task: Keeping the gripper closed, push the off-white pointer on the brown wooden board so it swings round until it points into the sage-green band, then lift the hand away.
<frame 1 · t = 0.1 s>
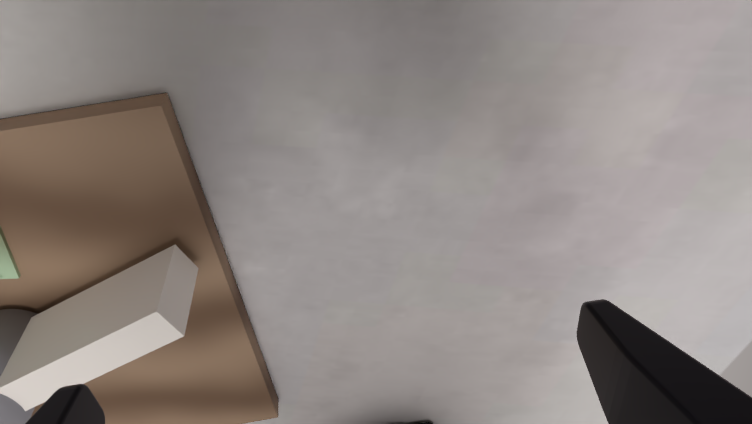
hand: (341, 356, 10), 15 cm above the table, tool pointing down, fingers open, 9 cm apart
pointer: (70, 340, 24), point 4 cm above the table, hinge at -70.0°
brown wooden board: (32, 313, 27), on the table
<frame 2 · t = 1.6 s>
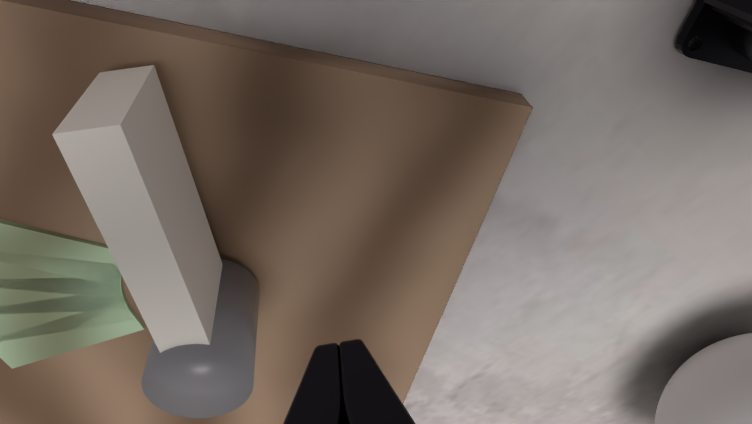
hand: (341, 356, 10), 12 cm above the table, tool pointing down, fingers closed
pointer: (174, 255, 18), point 4 cm above the table, hinge at -70.0°
brown wooden board: (217, 268, 23), on the table
decorative ball: (711, 357, 32), on the table
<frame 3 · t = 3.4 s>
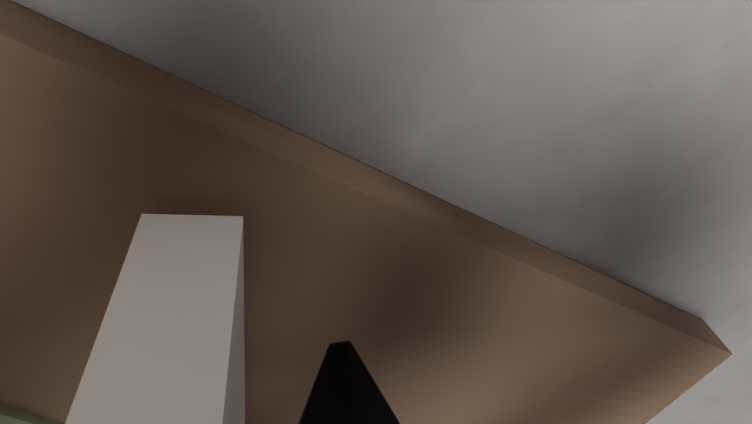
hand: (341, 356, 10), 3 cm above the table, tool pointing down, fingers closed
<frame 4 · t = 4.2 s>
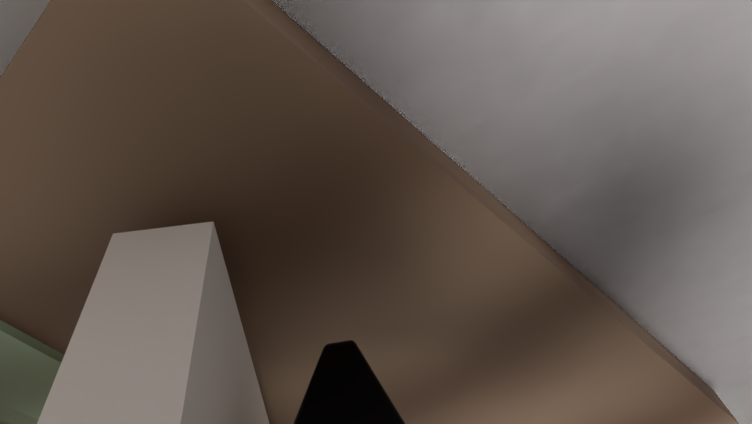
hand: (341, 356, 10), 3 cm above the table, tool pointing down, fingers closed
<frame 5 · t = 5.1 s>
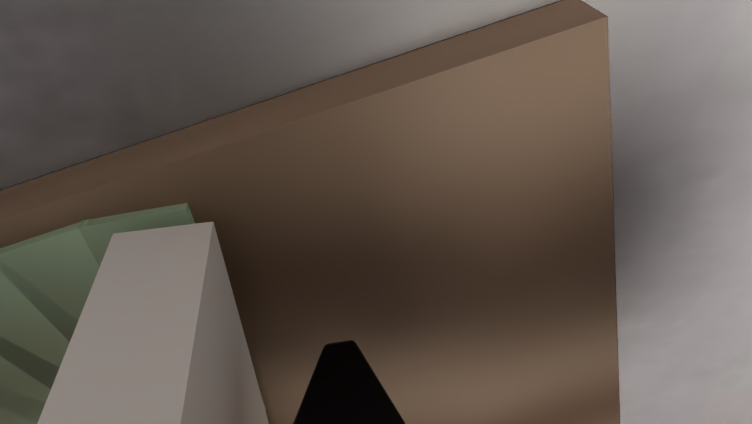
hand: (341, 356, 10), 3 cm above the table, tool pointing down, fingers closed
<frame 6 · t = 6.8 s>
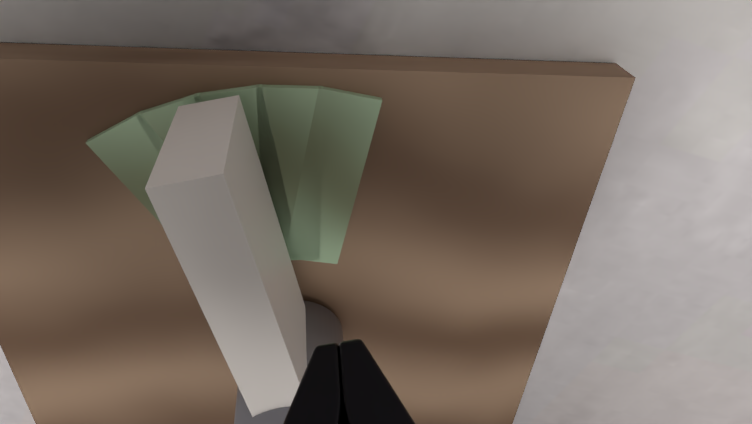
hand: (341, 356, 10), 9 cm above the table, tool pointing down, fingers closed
pointer: (262, 305, 16), point 4 cm above the table, hinge at 12.8°
brown wooden board: (293, 306, 21), on the table
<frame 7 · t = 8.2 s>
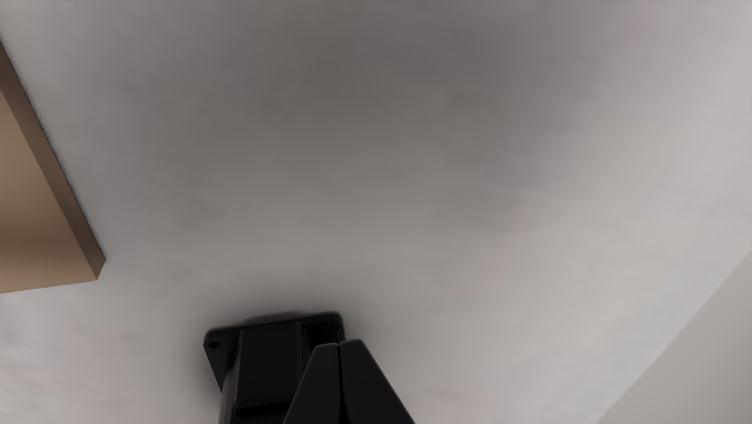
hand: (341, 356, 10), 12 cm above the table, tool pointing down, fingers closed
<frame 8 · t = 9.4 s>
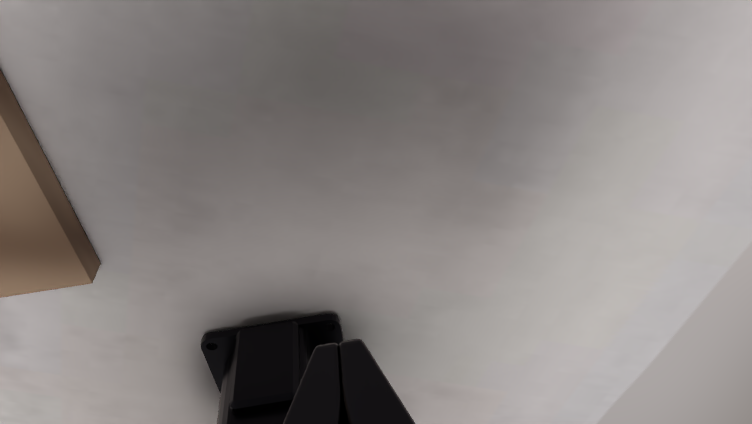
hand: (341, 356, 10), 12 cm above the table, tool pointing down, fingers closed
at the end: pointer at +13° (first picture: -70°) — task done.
